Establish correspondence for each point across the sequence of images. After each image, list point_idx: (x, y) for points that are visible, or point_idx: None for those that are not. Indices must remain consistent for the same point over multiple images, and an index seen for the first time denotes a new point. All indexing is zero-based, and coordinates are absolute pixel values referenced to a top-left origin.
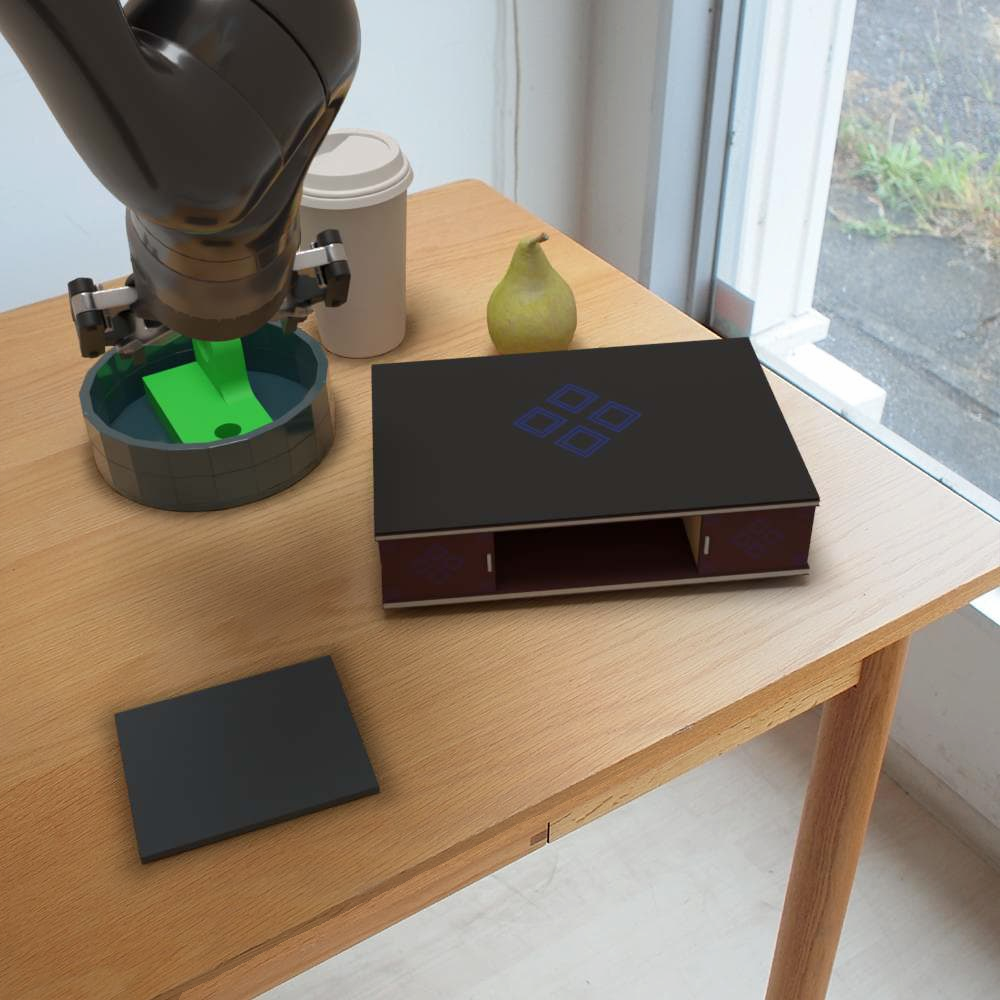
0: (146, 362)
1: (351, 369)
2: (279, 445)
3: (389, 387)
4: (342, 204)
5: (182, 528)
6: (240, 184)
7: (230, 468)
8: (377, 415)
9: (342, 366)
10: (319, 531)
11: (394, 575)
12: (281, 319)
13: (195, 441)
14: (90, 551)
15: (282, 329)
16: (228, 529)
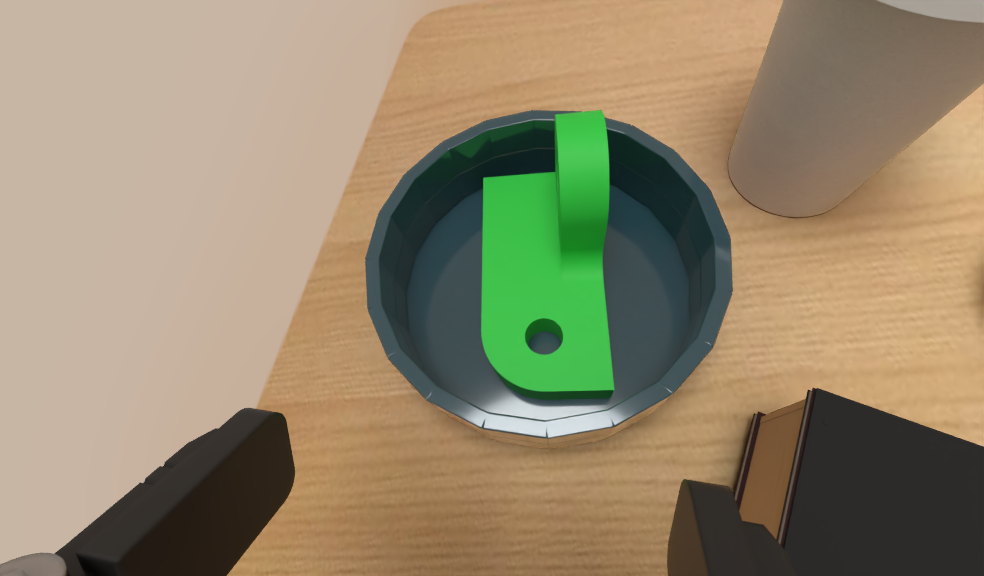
0: (280, 504)
1: (752, 230)
2: (596, 434)
3: (838, 485)
4: (947, 5)
5: (442, 451)
6: None
7: (514, 438)
8: None
9: (741, 219)
10: (604, 566)
11: None
12: (677, 562)
13: (496, 338)
14: (335, 435)
15: (668, 546)
16: (492, 486)
